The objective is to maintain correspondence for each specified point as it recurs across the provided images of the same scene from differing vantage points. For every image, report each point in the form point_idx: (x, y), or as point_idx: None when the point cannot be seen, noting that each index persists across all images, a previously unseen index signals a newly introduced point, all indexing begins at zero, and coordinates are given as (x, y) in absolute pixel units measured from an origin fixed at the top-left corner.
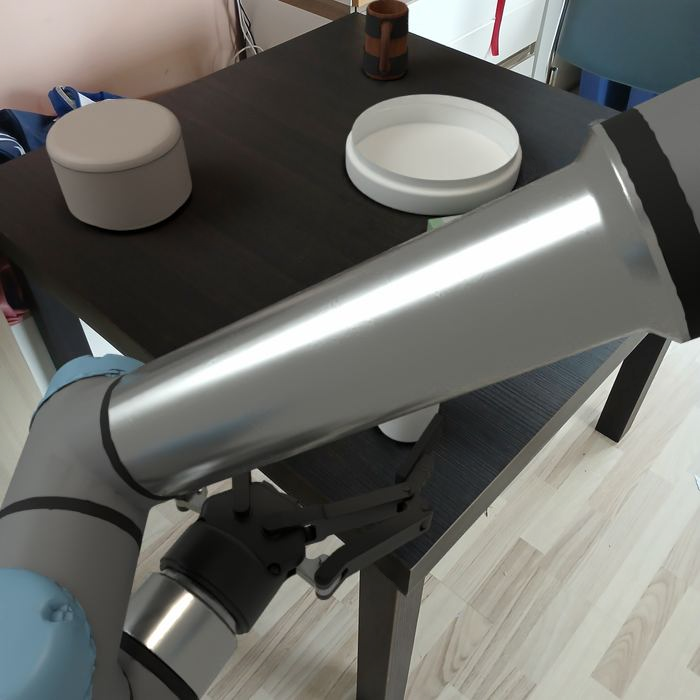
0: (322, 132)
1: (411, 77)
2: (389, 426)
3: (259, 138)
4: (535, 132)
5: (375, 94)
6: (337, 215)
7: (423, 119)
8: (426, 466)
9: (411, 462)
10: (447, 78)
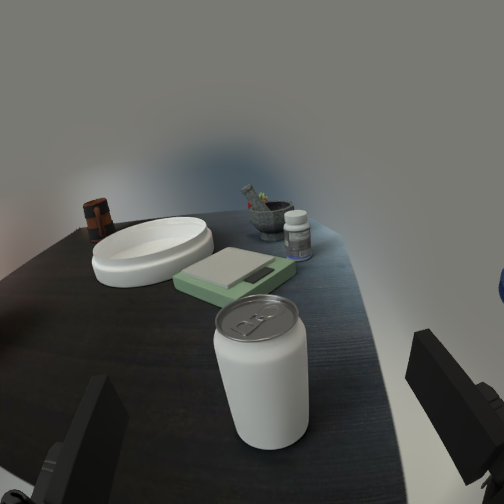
0: (76, 271)
1: None
2: (270, 438)
3: (37, 288)
4: None
5: None
6: (102, 305)
7: (136, 243)
8: (492, 400)
9: (488, 411)
10: None
